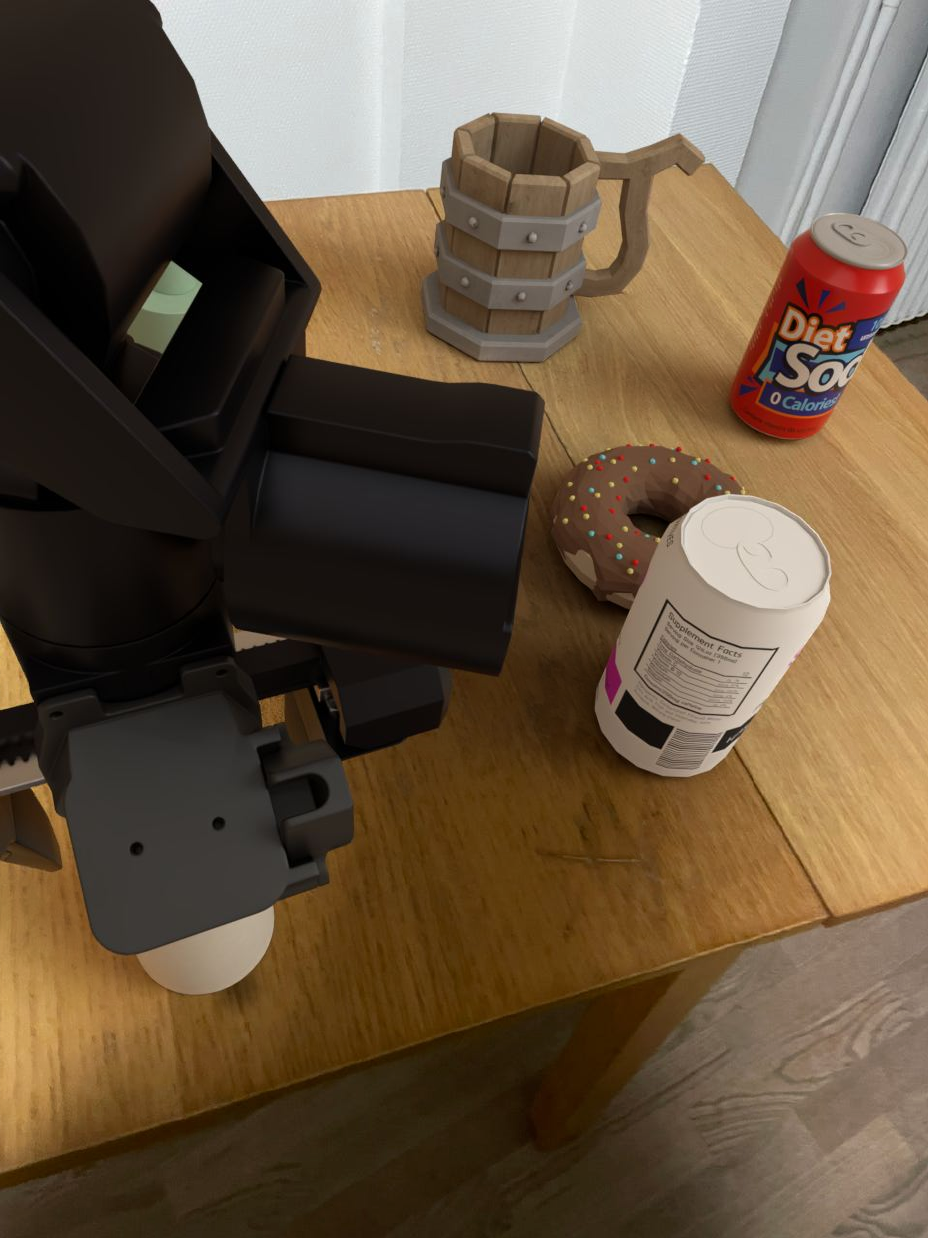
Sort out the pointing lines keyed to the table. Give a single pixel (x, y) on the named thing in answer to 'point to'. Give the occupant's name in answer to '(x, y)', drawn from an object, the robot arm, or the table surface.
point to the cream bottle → (211, 956)
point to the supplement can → (711, 632)
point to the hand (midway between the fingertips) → (181, 821)
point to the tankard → (532, 232)
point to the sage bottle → (164, 308)
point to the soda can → (817, 324)
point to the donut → (626, 512)
